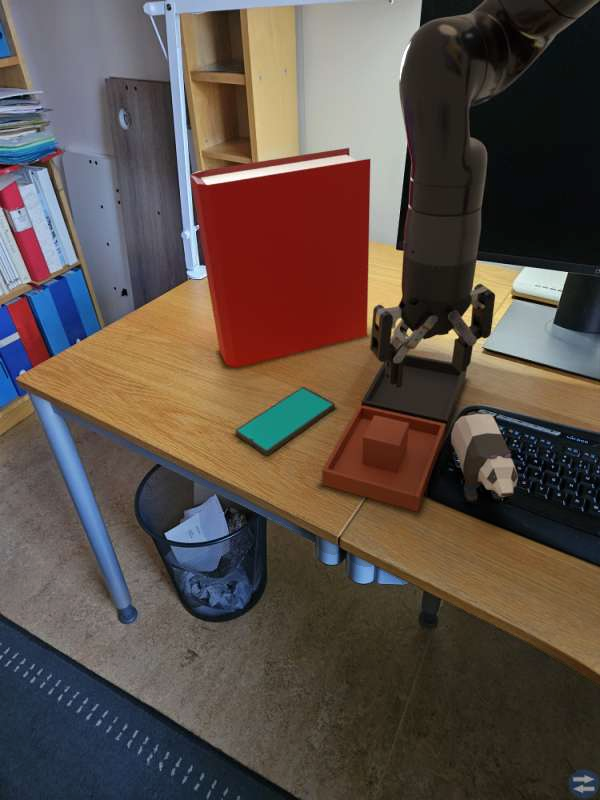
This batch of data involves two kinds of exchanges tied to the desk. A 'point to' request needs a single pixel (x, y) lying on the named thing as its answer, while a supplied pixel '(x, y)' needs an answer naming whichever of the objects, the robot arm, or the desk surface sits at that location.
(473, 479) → the giant panda
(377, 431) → the terracotta block
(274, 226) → the book
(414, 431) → the terracotta tray
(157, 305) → the desk surface
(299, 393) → the smartphone
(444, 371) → the charcoal tray
